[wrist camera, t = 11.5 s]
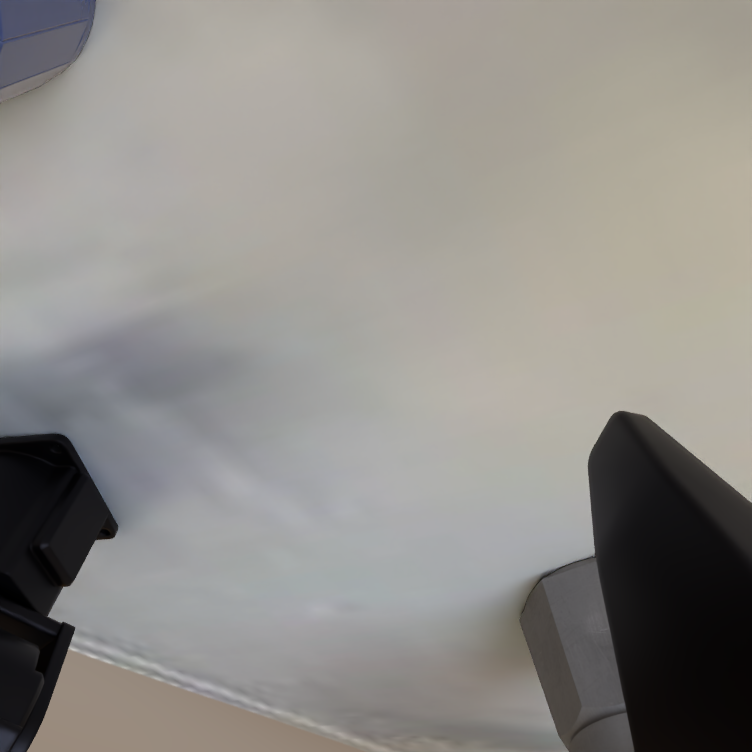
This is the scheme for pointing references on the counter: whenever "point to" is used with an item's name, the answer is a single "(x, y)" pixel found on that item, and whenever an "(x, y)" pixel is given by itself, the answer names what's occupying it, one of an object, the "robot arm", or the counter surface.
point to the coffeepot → (577, 659)
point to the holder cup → (40, 41)
